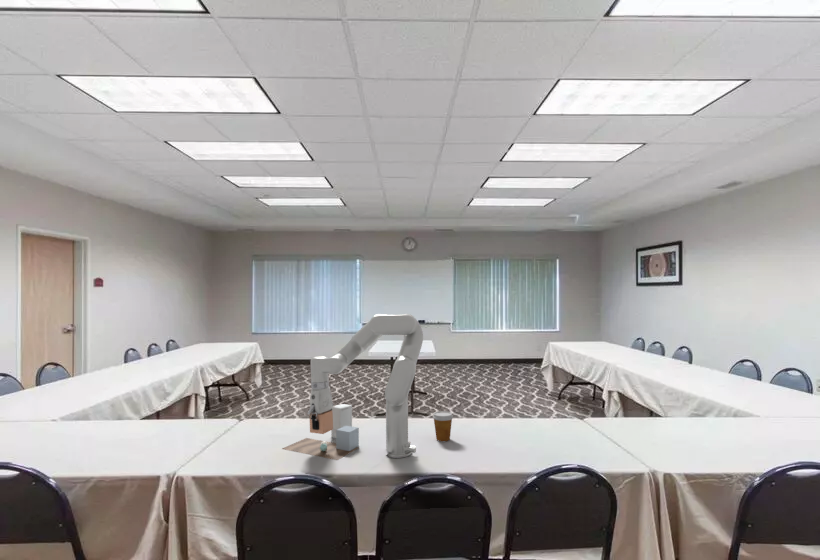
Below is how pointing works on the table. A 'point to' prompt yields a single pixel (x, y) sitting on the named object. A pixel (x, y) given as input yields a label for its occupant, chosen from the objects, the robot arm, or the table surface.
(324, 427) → the peach cube block
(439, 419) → the disposable coffee cup
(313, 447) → the walnut board
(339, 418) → the skincare box
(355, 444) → the pale blue cube
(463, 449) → the table surface
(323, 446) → the marble teal
